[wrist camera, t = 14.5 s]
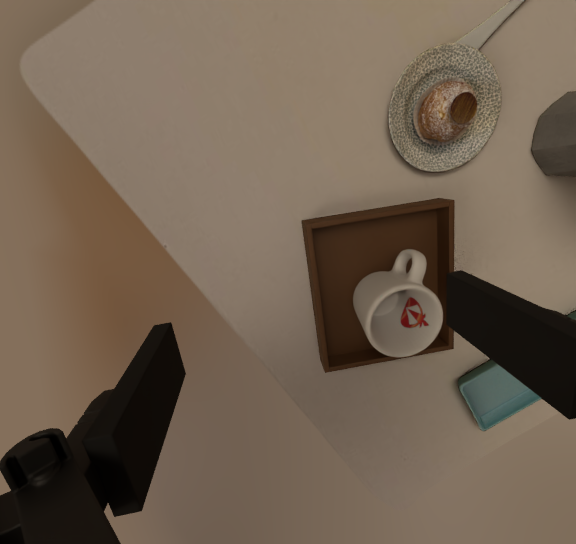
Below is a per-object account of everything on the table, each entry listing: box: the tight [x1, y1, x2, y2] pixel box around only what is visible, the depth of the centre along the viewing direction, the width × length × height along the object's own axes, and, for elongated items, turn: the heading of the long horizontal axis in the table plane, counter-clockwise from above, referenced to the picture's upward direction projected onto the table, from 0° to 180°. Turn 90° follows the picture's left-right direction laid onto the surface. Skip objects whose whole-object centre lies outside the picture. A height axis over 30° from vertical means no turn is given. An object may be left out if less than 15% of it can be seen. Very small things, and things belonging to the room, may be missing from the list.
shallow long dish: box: [458, 311, 576, 431], centre depth 44 cm, size 26×9×2 cm, turn 121°
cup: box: [353, 249, 443, 357], centre depth 35 cm, size 11×8×8 cm
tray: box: [302, 198, 454, 373], centre depth 38 cm, size 16×18×3 cm
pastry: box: [388, 43, 501, 172], centre depth 32 cm, size 12×12×5 cm
